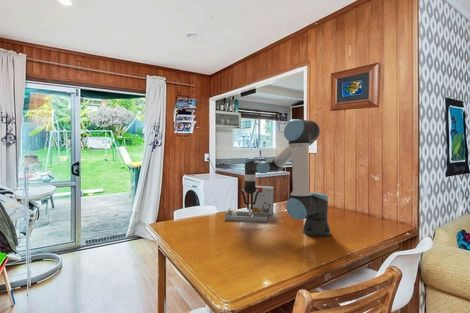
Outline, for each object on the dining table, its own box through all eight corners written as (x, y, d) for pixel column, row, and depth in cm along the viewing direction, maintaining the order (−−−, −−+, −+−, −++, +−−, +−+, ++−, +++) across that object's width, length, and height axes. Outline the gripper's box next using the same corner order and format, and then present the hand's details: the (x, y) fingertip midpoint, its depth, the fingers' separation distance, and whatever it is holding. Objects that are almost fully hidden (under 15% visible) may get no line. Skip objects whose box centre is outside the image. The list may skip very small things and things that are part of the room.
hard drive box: (251, 213, 191) (251, 186, 190) (253, 210, 198) (253, 185, 198) (272, 215, 187) (272, 187, 186) (273, 212, 194) (274, 186, 193)
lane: (267, 216, 182) (267, 209, 182) (267, 222, 168) (267, 214, 168) (228, 214, 186) (228, 208, 186) (225, 220, 173) (225, 213, 172)
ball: (231, 211, 182) (232, 217, 181) (230, 212, 178) (231, 217, 178) (236, 209, 181) (238, 215, 181) (235, 210, 177) (237, 216, 177)
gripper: (260, 179, 179) (259, 213, 180) (241, 179, 181) (241, 212, 182) (259, 181, 171) (259, 216, 172) (240, 180, 173) (239, 215, 174)
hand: (249, 214), depth 177 cm, fingers closed
